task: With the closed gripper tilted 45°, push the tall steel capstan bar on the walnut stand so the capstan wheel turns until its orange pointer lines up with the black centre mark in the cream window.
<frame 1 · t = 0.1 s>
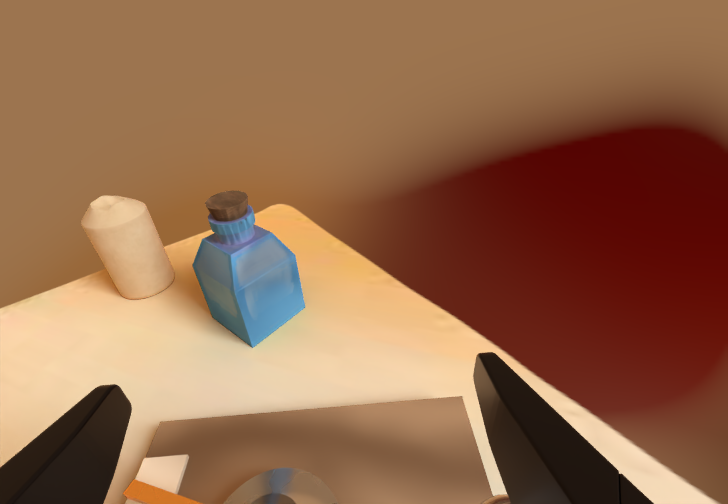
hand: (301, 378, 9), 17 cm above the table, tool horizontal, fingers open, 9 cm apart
perfume bottle: (259, 314, 36), on the table
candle: (149, 284, 40), on the table
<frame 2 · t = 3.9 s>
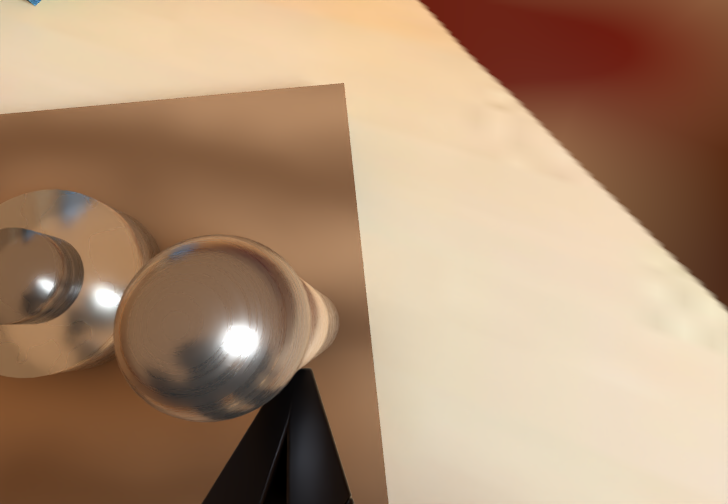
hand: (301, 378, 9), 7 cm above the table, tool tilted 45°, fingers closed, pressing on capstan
stand: (143, 332, 17), on the table
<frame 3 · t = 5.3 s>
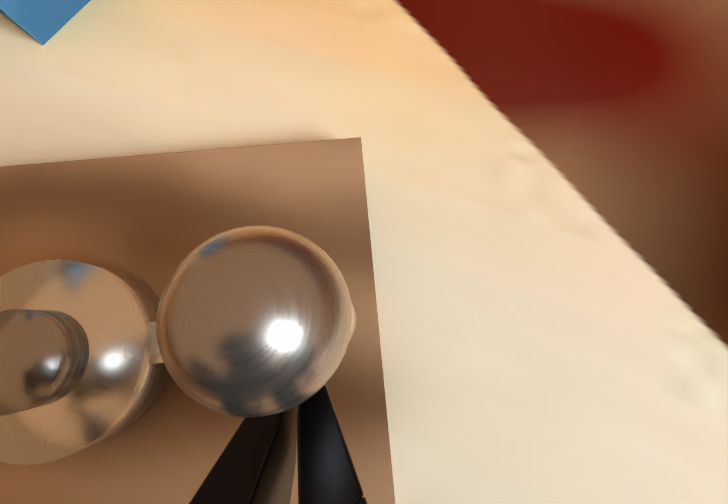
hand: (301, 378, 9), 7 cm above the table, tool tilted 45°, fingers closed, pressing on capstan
stand: (149, 393, 16), on the table
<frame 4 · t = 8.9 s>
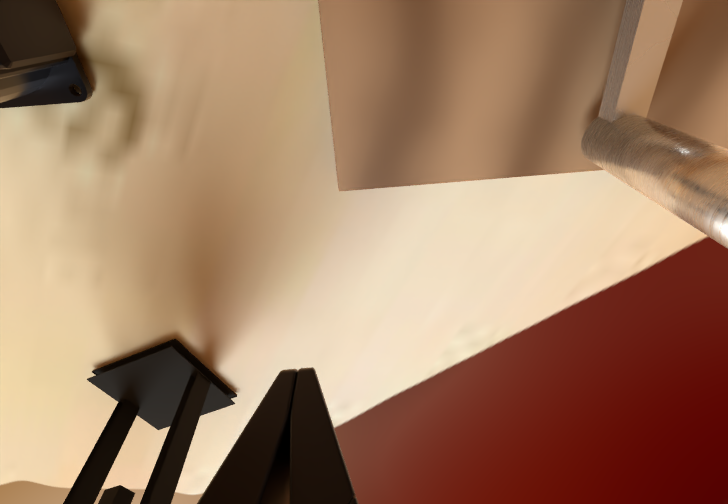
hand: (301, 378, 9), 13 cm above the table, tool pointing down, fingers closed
handbag: (167, 382, 29), on the table
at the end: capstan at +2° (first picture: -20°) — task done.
